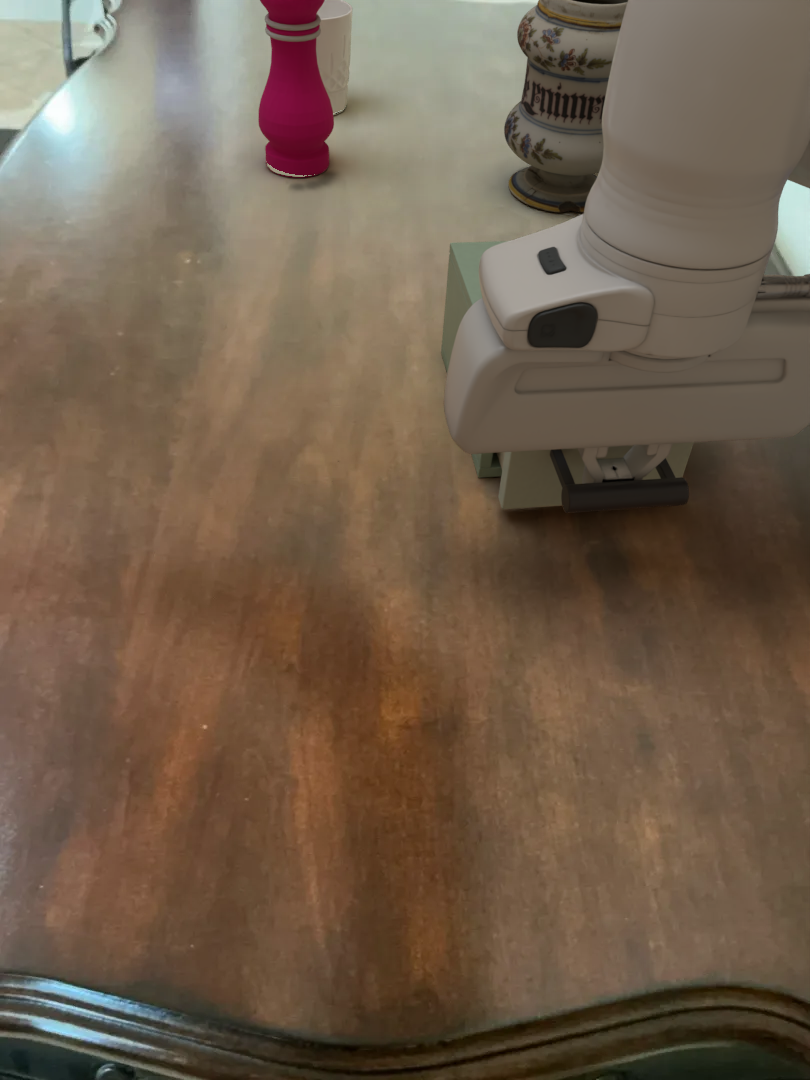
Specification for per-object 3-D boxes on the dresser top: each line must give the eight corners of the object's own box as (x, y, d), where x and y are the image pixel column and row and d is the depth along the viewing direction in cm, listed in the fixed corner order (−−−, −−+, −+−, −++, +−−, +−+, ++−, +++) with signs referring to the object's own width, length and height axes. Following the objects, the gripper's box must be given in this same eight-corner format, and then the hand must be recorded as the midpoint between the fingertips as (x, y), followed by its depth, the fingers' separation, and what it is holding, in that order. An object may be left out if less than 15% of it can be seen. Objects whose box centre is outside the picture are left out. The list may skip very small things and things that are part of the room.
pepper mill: (293, 143, 100) (284, -82, 86) (348, 163, 97) (349, -67, 83) (245, 166, 96) (228, -67, 82) (302, 187, 93) (295, -51, 79)
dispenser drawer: (704, 554, 58) (738, 461, 53) (519, 568, 57) (537, 473, 52) (614, 375, 71) (635, 286, 66) (462, 382, 70) (471, 292, 65)
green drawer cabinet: (660, 466, 66) (695, 352, 59) (477, 478, 64) (493, 361, 57) (599, 345, 76) (623, 237, 69) (440, 352, 74) (450, 242, 68)
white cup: (359, 117, 106) (361, 17, 99) (288, 122, 104) (284, 20, 97) (342, 90, 111) (342, -7, 104) (274, 94, 109) (269, -4, 102)
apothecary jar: (517, 223, 90) (546, 10, 77) (483, 167, 98) (504, -34, 85) (639, 216, 92) (687, 7, 79) (596, 162, 100) (633, -35, 88)
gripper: (833, 243, 51) (754, 448, 61) (449, 252, 48) (431, 465, 58) (892, 307, 46) (796, 517, 56) (473, 321, 44) (448, 539, 53)
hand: (608, 491), depth 57 cm, fingers closed
